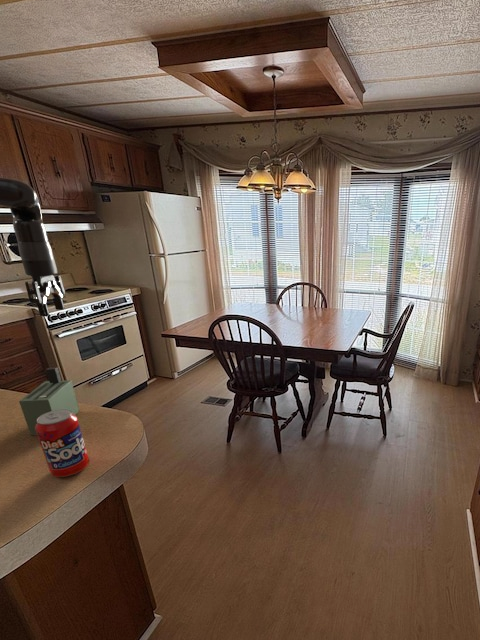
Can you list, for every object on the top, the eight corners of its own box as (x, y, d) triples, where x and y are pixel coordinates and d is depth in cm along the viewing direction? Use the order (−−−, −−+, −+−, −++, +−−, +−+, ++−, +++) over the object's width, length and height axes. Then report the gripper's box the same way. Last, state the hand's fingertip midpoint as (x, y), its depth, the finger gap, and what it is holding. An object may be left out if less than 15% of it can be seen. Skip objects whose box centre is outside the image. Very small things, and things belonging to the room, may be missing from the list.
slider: (52, 380, 103) (48, 367, 101) (61, 380, 103) (57, 367, 102) (49, 383, 101) (45, 369, 100) (58, 382, 102) (54, 369, 100)
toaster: (55, 412, 107) (45, 380, 103) (79, 411, 109) (71, 379, 104) (30, 435, 96) (18, 400, 91) (59, 434, 97) (48, 399, 93)
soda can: (76, 455, 88) (61, 404, 83) (97, 464, 86) (83, 412, 80) (43, 474, 82) (24, 420, 76) (65, 483, 79) (46, 428, 73)
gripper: (37, 255, 105) (52, 307, 111) (6, 260, 92) (24, 318, 98) (65, 256, 106) (77, 307, 113) (38, 260, 93) (53, 318, 100)
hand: (52, 312), depth 105 cm, fingers open, 8 cm apart
